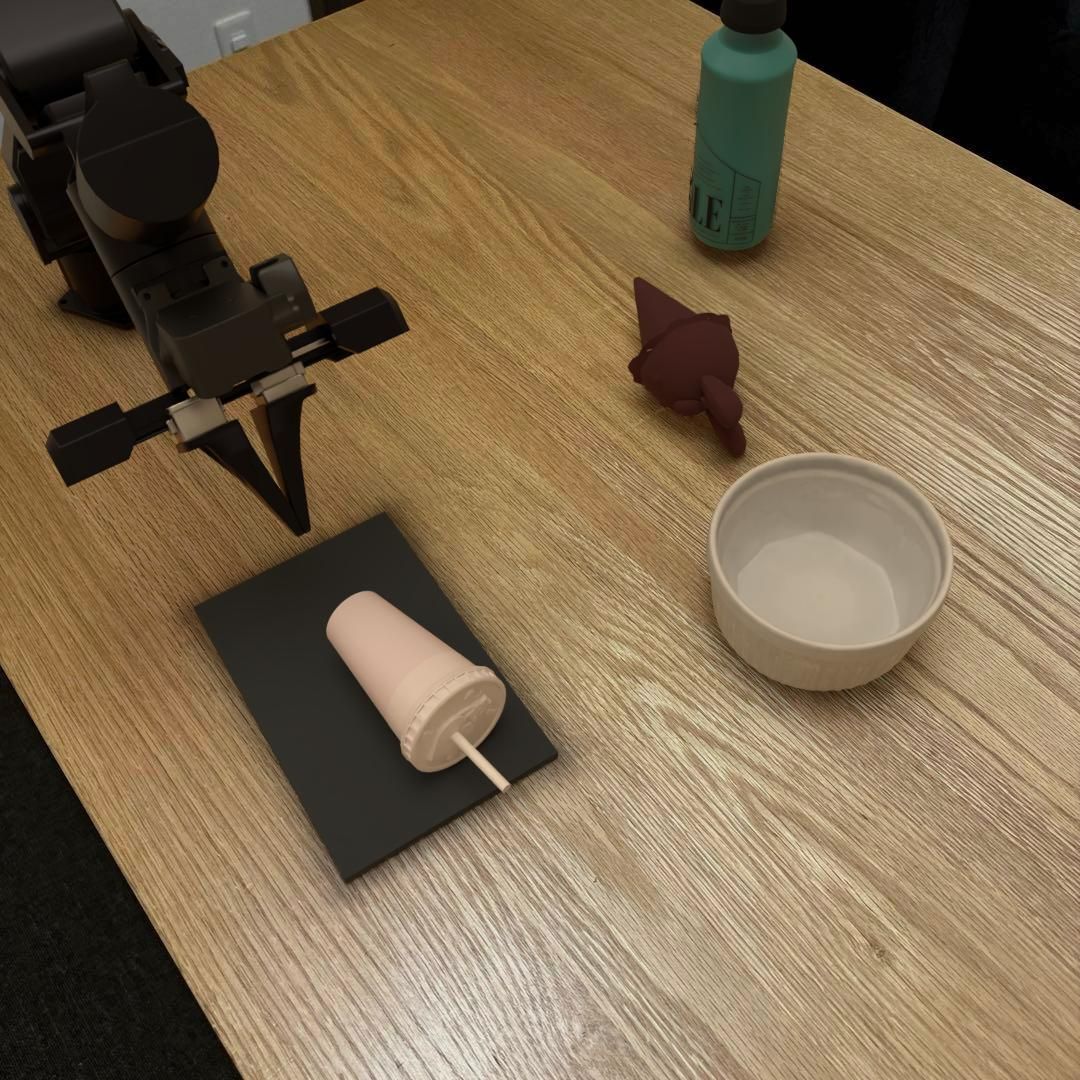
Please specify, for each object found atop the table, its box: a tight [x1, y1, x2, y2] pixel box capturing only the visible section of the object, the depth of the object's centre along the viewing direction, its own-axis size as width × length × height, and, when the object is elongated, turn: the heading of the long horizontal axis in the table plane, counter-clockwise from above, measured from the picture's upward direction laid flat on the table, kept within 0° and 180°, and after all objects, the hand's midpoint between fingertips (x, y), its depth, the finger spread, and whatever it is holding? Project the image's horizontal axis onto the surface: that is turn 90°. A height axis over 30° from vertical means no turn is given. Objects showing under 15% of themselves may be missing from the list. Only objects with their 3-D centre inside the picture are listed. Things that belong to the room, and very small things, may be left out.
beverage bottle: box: [686, 0, 798, 251], centre depth 82 cm, size 6×7×20 cm
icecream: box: [627, 276, 748, 459], centre depth 78 cm, size 7×7×15 cm
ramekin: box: [705, 451, 955, 692], centre depth 67 cm, size 13×13×7 cm
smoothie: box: [326, 591, 512, 794], centre depth 63 cm, size 6×6×14 cm
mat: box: [193, 510, 559, 884], centre depth 68 cm, size 20×13×1 cm, turn 32°
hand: (303, 533), depth 63 cm, fingers closed
